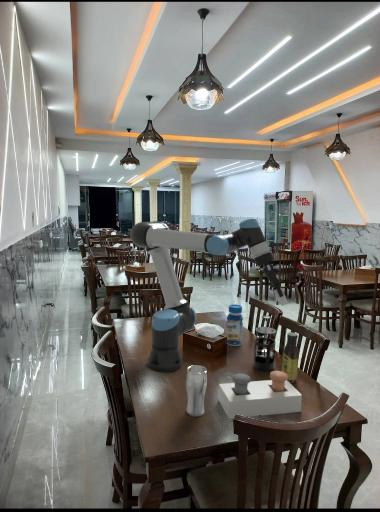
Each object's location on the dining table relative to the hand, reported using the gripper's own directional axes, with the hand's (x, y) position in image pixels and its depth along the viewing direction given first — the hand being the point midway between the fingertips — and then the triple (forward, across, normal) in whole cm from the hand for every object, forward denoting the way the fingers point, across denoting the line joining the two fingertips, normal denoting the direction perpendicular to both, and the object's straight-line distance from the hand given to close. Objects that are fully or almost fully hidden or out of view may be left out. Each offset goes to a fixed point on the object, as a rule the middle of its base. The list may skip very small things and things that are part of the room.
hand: (283, 303), depth 144 cm
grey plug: (+21, -21, +27) cm, 41 cm away
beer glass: (+20, -26, +43) cm, 54 cm away
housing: (+28, -18, +23) cm, 40 cm away
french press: (+24, +15, +18) cm, 34 cm away
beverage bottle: (+15, +39, +29) cm, 51 cm away
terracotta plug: (+26, -16, +15) cm, 34 cm away
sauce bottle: (+30, +4, +10) cm, 32 cm away
